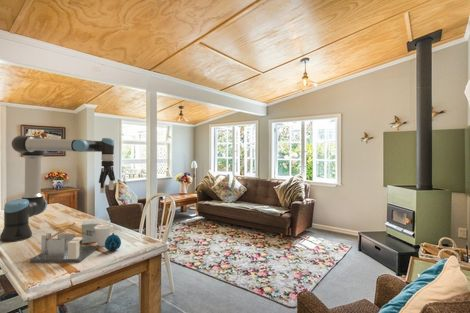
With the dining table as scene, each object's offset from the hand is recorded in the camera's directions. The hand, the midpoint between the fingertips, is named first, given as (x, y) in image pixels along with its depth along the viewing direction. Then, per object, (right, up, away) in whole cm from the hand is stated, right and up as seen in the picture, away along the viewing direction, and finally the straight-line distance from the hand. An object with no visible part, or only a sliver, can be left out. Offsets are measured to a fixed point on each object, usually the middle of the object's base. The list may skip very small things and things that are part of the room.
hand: (107, 191), depth 176 cm
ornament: (+19, -29, -32) cm, 48 cm away
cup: (+10, -29, -24) cm, 39 cm away
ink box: (-2, -29, -18) cm, 34 cm away
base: (-2, -29, -40) cm, 49 cm away
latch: (+6, -27, -45) cm, 53 cm away
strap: (-4, -16, -40) cm, 44 cm away
